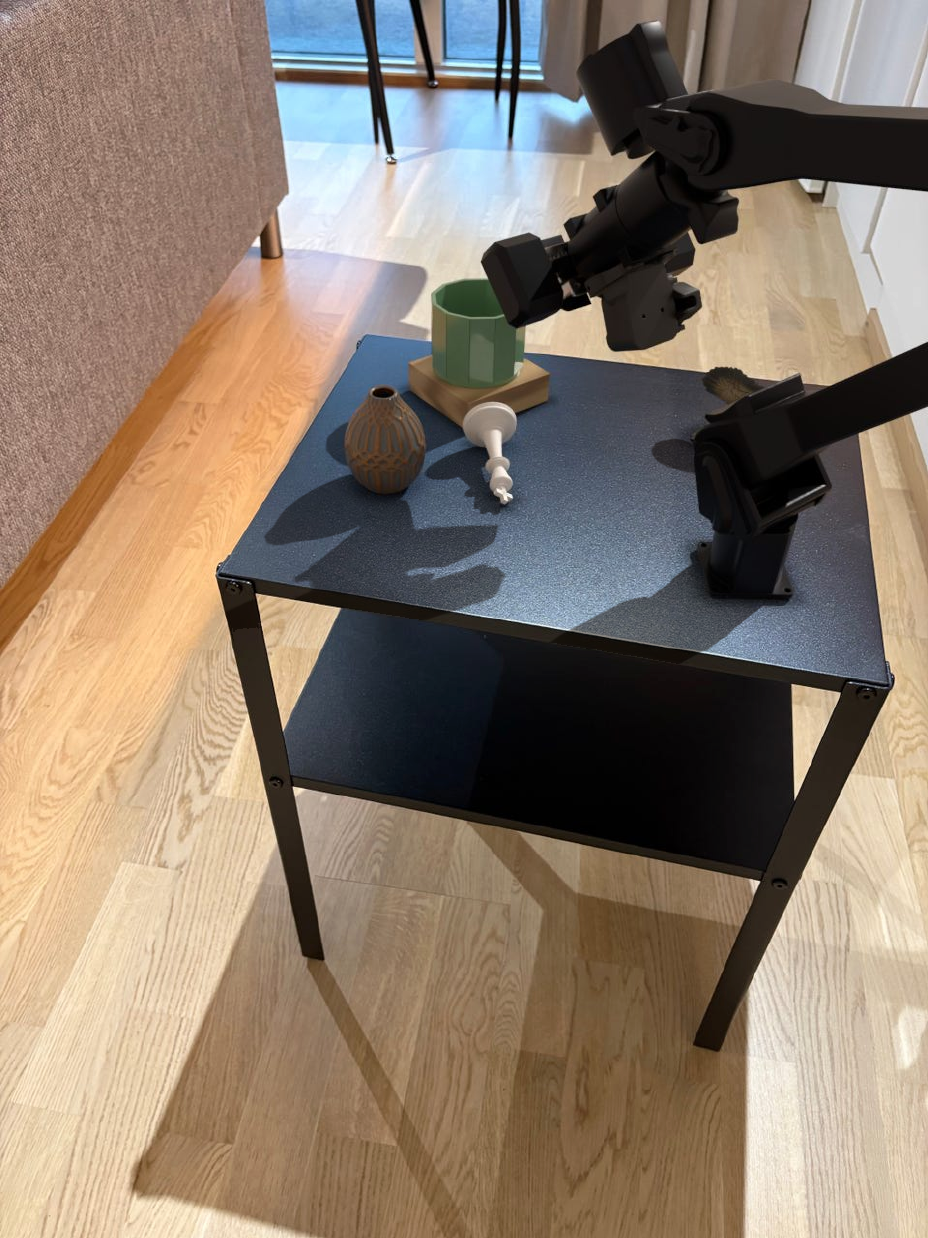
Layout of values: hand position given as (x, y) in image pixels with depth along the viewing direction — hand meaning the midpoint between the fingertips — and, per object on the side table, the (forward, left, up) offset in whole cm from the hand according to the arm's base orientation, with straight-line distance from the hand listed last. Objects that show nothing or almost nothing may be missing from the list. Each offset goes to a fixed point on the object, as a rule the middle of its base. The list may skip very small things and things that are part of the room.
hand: (540, 303), depth 86 cm
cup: (+7, +5, -10) cm, 13 cm away
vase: (-9, +13, -13) cm, 20 cm away
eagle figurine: (-1, -20, -13) cm, 24 cm away
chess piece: (-3, +4, -10) cm, 11 cm away
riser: (+7, +5, -13) cm, 15 cm away
